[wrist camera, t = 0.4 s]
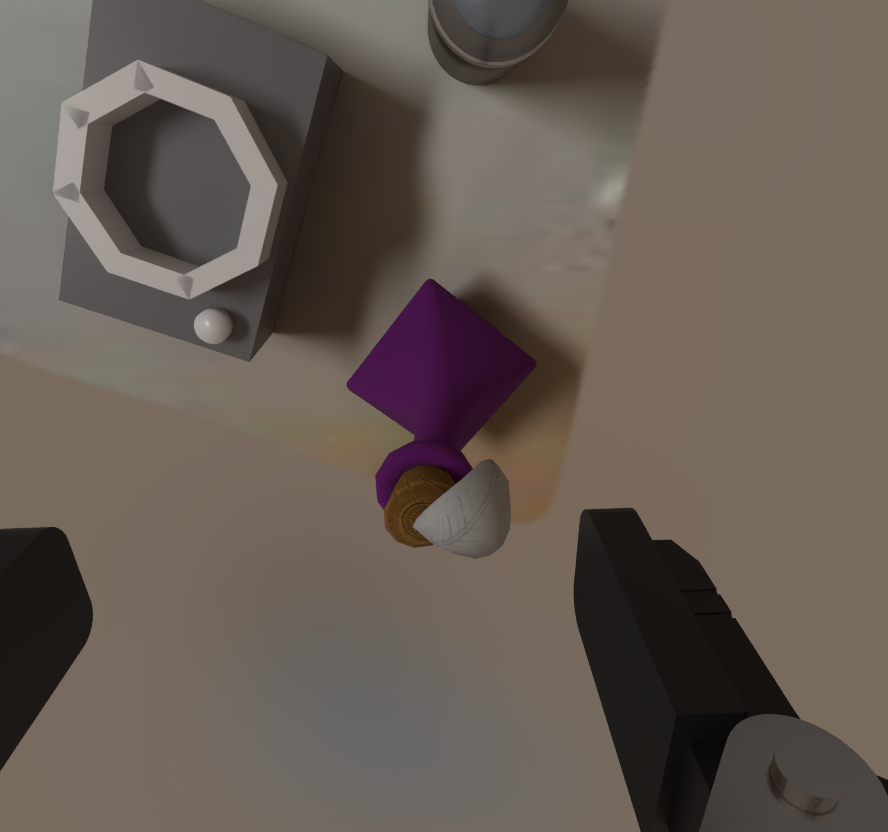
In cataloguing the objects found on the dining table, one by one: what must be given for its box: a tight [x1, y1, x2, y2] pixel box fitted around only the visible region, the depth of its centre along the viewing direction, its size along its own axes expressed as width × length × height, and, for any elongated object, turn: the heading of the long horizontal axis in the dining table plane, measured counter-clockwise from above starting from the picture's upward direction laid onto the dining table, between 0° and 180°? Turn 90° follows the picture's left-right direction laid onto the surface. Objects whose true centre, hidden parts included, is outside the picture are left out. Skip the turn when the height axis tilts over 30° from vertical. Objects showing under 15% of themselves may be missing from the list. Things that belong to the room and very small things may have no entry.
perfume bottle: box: [346, 279, 537, 558], centre depth 26 cm, size 8×8×18 cm
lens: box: [428, 0, 568, 85], centre depth 24 cm, size 5×5×9 cm
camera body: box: [53, 0, 342, 362], centre depth 27 cm, size 14×9×7 cm, turn 159°
